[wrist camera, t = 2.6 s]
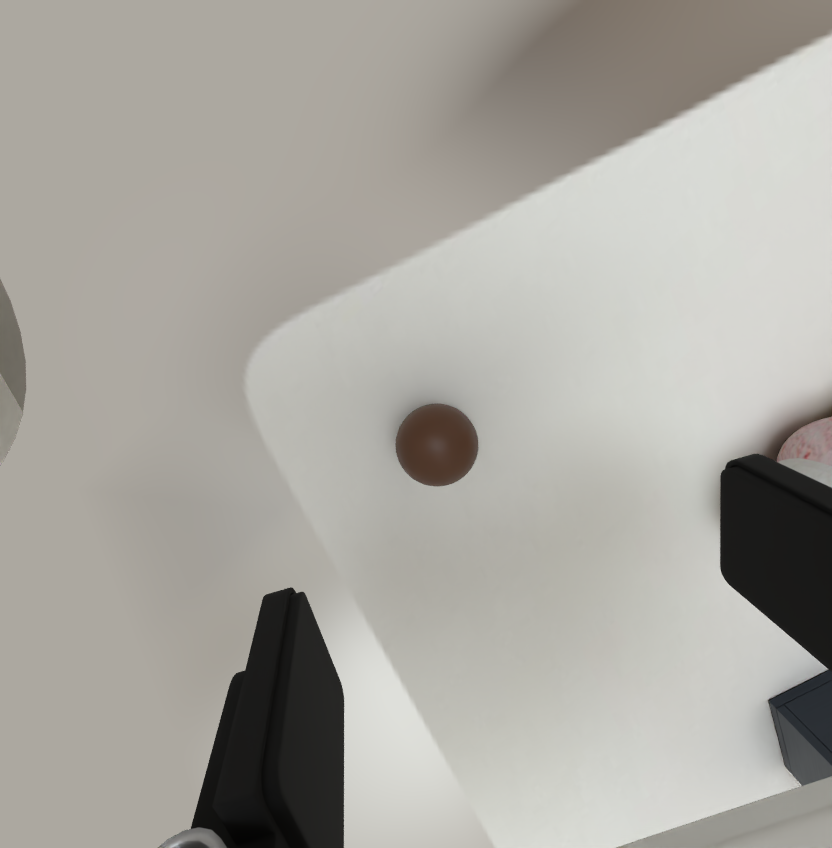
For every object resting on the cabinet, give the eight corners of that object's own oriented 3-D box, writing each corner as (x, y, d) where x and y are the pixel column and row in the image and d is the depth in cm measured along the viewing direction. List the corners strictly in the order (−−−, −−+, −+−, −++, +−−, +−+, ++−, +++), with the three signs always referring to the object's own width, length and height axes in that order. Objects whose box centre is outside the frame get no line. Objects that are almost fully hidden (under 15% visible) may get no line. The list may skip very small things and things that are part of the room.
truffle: (401, 473, 19) (412, 511, 16) (382, 406, 18) (391, 433, 15) (472, 453, 19) (495, 487, 16) (458, 385, 18) (480, 408, 15)
